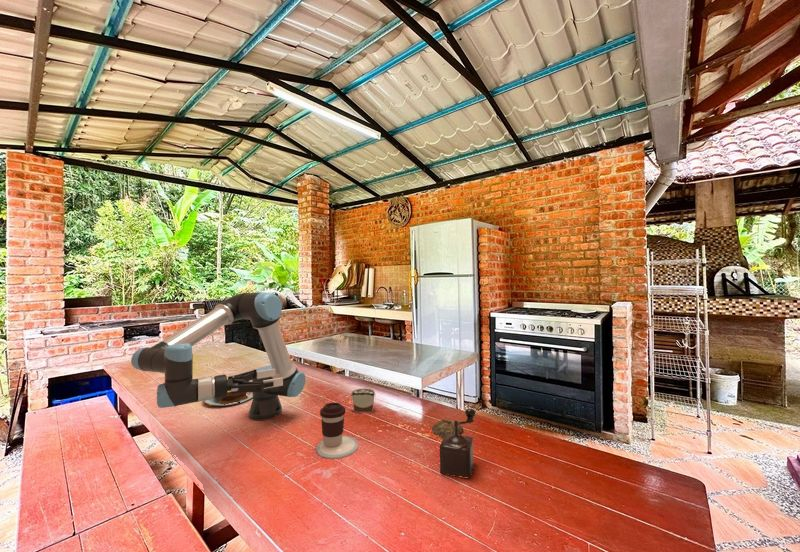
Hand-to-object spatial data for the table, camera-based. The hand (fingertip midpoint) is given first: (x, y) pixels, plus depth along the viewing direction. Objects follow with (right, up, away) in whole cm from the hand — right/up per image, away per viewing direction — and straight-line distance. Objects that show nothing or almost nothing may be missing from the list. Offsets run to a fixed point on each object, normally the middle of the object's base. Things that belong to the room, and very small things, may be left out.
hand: (278, 376), depth 122 cm
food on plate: (-49, -32, +59) cm, 83 cm away
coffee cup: (+19, -29, +8) cm, 35 cm away
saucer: (+21, -30, +6) cm, 37 cm away
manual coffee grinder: (+67, -29, -7) cm, 73 cm away
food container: (+28, -30, +42) cm, 59 cm away
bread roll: (+66, -30, +18) cm, 75 cm away
